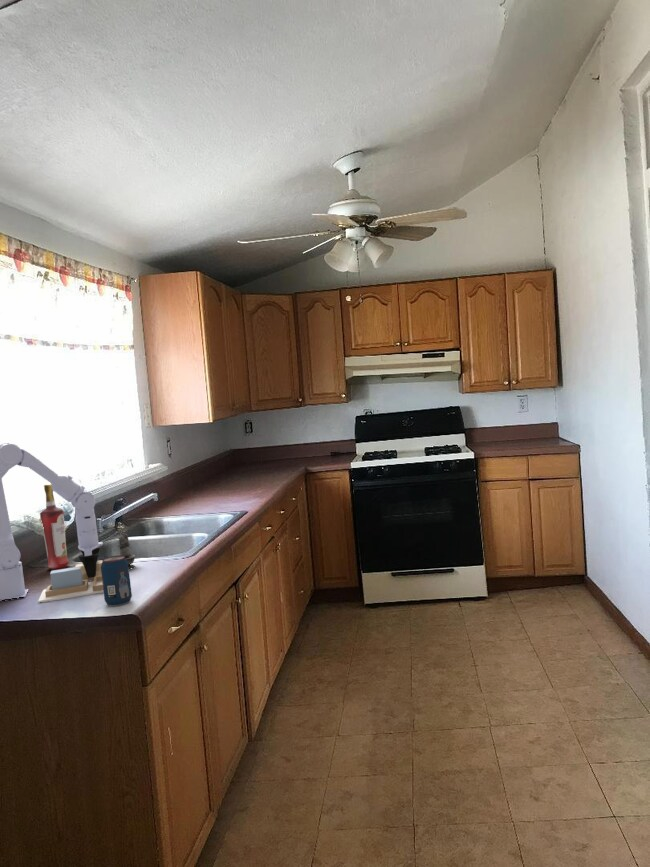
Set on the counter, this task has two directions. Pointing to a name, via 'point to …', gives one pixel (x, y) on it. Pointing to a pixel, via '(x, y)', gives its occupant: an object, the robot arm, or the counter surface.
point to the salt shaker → (126, 549)
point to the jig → (73, 590)
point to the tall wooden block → (84, 575)
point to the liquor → (54, 532)
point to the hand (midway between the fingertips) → (92, 574)
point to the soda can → (116, 580)
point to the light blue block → (66, 578)
